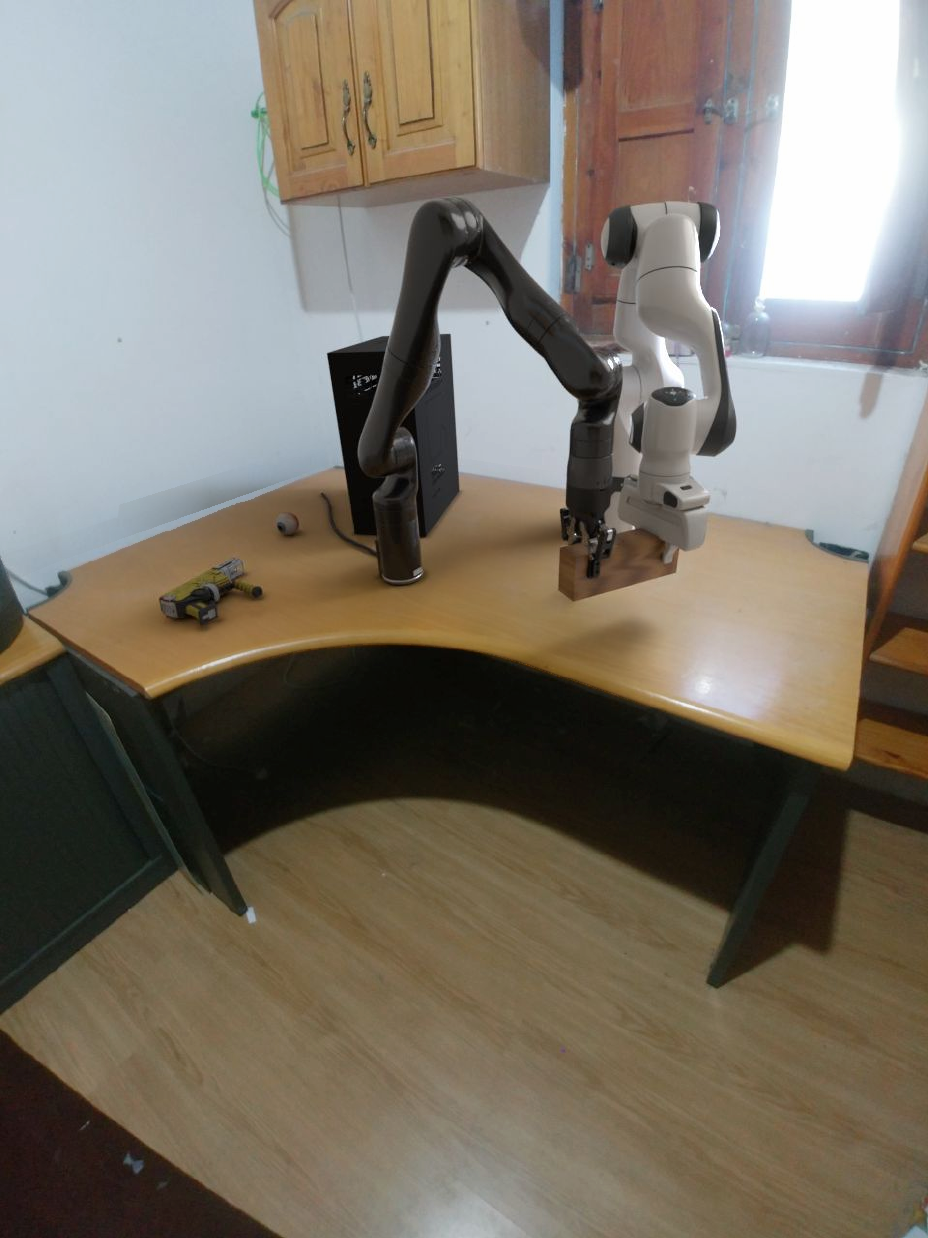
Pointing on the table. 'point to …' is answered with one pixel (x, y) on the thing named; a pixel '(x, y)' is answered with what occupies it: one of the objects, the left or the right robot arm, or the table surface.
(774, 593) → the table surface
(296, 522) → the eyeball
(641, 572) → the bar
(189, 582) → the toy gun
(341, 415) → the cardboard box
